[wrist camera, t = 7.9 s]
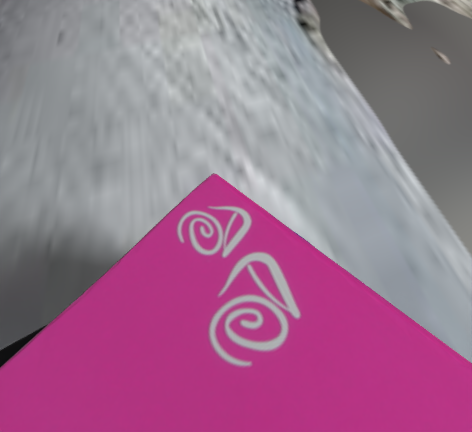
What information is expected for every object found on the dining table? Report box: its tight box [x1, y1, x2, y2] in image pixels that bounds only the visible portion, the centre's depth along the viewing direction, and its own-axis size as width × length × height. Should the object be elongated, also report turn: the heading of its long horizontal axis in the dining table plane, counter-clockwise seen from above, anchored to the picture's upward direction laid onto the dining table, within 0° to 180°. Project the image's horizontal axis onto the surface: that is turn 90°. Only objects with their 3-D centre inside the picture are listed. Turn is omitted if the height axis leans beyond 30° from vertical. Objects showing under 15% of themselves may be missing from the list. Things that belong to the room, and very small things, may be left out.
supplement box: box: [0, 173, 472, 432], centre depth 8 cm, size 6×6×12 cm
